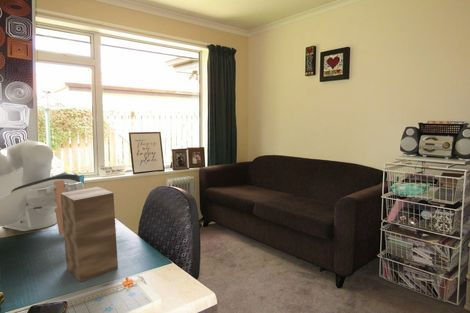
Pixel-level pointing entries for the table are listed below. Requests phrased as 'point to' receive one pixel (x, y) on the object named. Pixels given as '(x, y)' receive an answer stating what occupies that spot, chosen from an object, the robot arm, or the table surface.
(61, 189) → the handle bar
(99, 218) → the walnut pedestal
